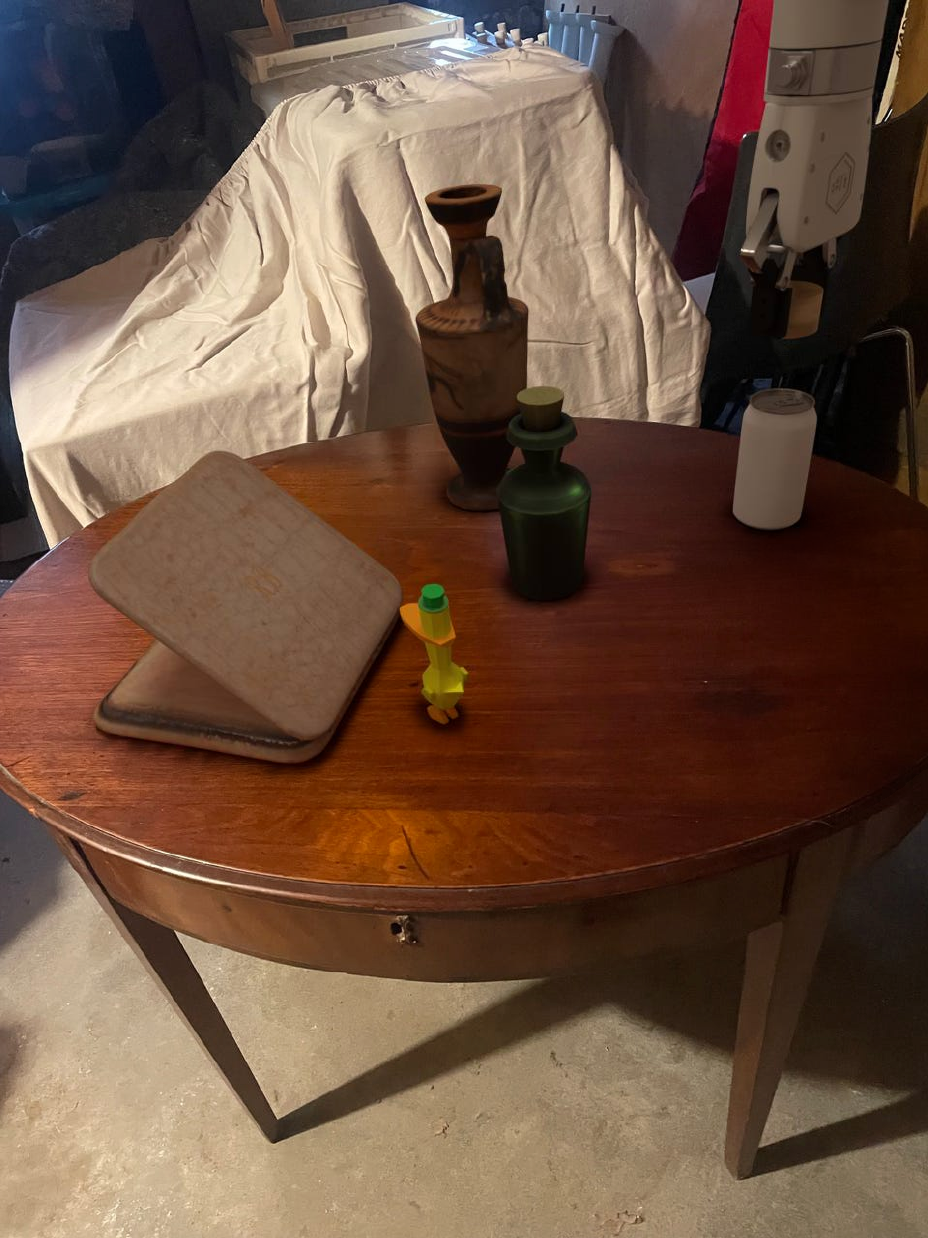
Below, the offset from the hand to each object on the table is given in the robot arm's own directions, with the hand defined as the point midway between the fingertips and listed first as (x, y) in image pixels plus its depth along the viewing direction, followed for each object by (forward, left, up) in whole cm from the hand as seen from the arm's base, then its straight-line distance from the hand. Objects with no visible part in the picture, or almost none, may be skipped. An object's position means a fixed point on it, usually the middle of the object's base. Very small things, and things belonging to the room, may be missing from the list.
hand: (786, 322), depth 74 cm
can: (-1, -2, -20) cm, 20 cm away
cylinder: (0, 0, 0) cm, 0 cm away
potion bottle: (+17, +14, -20) cm, 30 cm away
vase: (+28, -1, -20) cm, 35 cm away
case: (+37, +32, -20) cm, 53 cm away
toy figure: (+20, +33, -20) cm, 44 cm away
